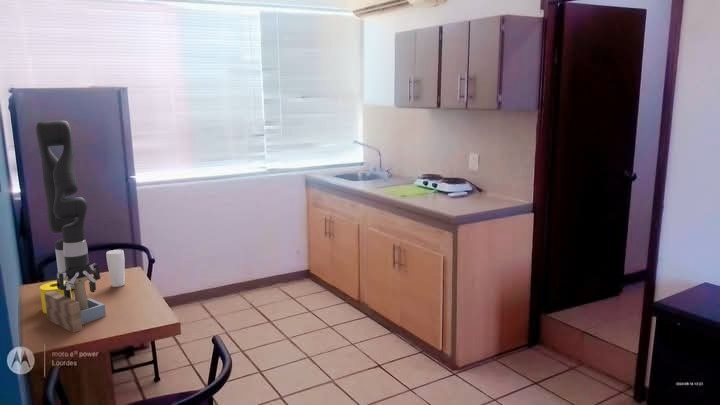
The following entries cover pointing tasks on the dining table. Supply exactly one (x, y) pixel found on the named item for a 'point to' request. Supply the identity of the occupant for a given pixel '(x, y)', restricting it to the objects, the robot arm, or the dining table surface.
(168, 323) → the dining table surface
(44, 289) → the tape roll
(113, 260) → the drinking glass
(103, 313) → the box
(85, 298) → the handle
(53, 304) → the block
